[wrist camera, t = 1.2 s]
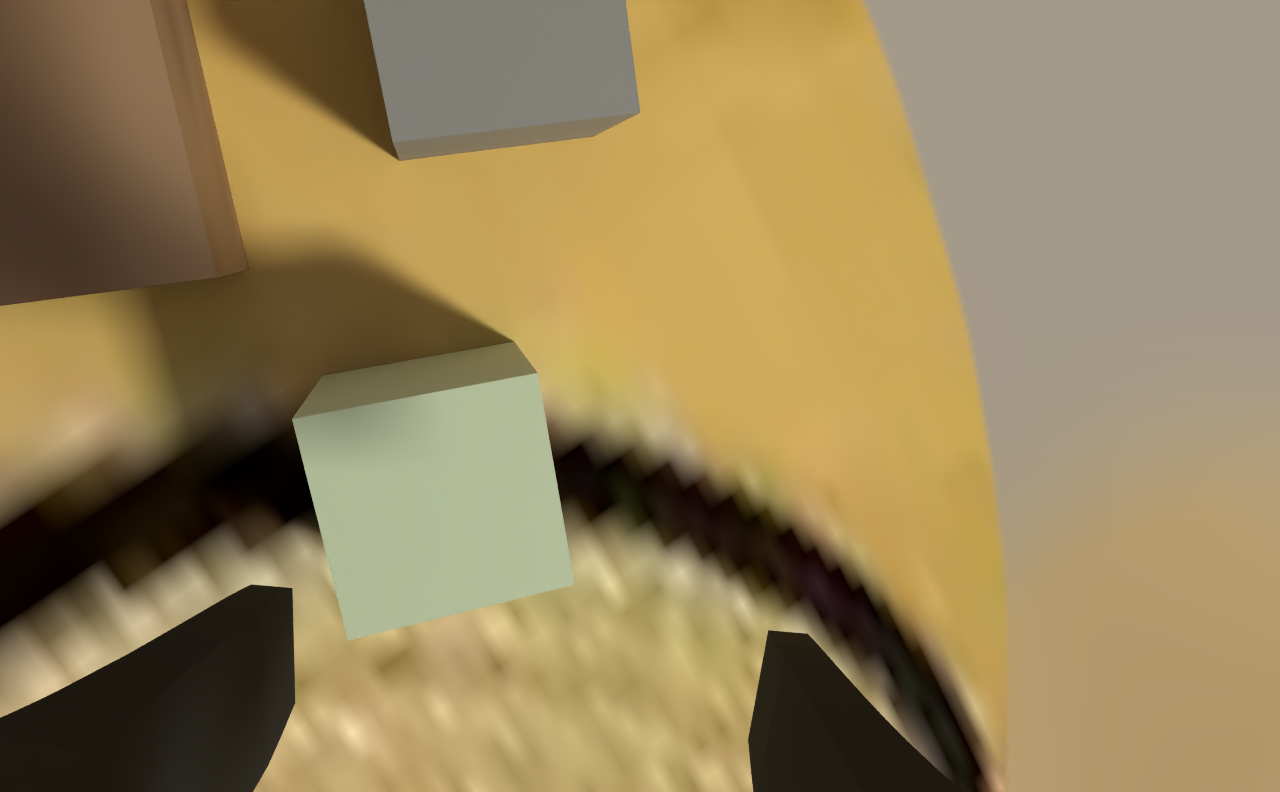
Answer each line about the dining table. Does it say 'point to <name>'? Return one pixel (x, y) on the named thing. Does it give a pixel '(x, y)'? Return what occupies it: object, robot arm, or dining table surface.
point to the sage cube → (433, 486)
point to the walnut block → (107, 152)
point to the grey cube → (500, 71)
